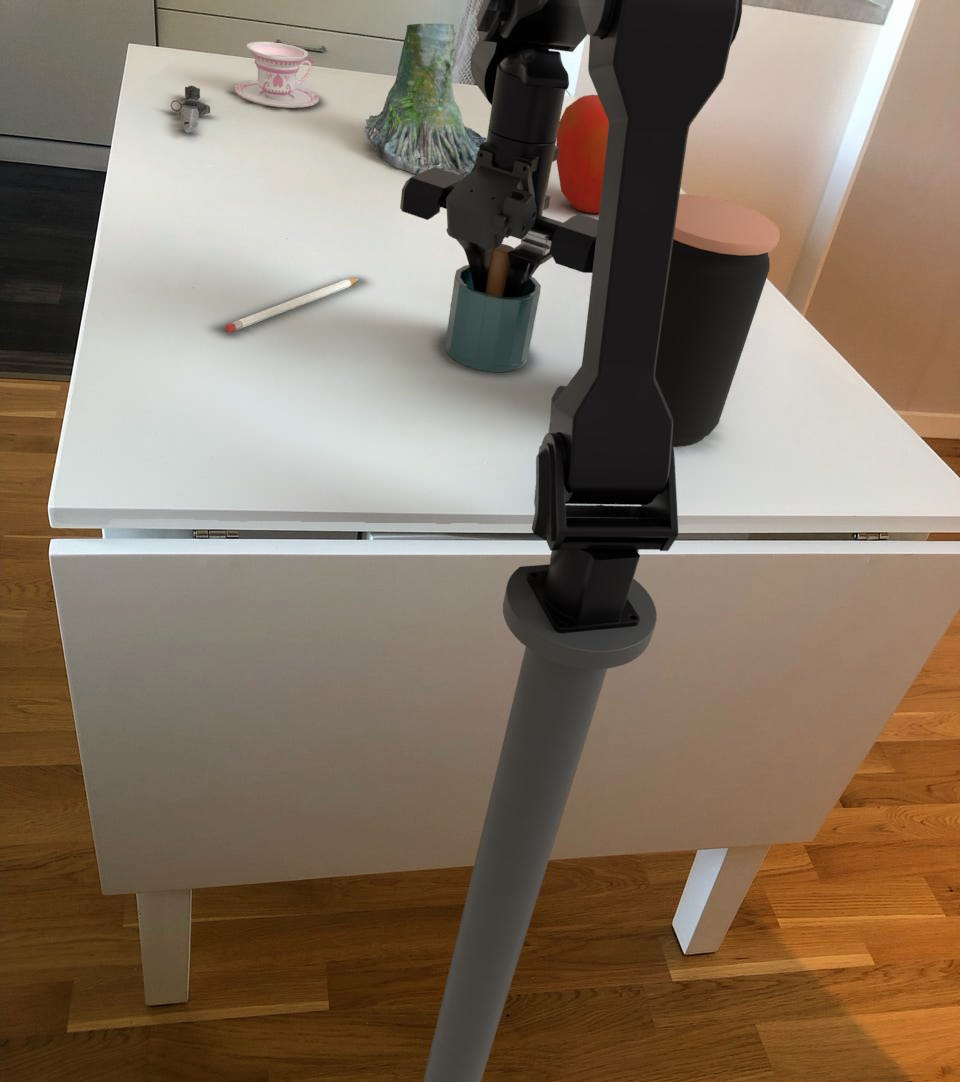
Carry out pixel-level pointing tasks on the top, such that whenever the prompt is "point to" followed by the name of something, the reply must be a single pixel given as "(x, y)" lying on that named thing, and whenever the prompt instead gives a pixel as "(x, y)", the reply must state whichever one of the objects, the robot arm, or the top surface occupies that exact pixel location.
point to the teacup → (278, 76)
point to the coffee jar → (709, 308)
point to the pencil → (289, 305)
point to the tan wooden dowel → (498, 270)
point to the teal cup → (490, 325)
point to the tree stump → (424, 109)
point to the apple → (582, 152)
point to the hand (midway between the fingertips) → (492, 311)
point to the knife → (191, 108)
